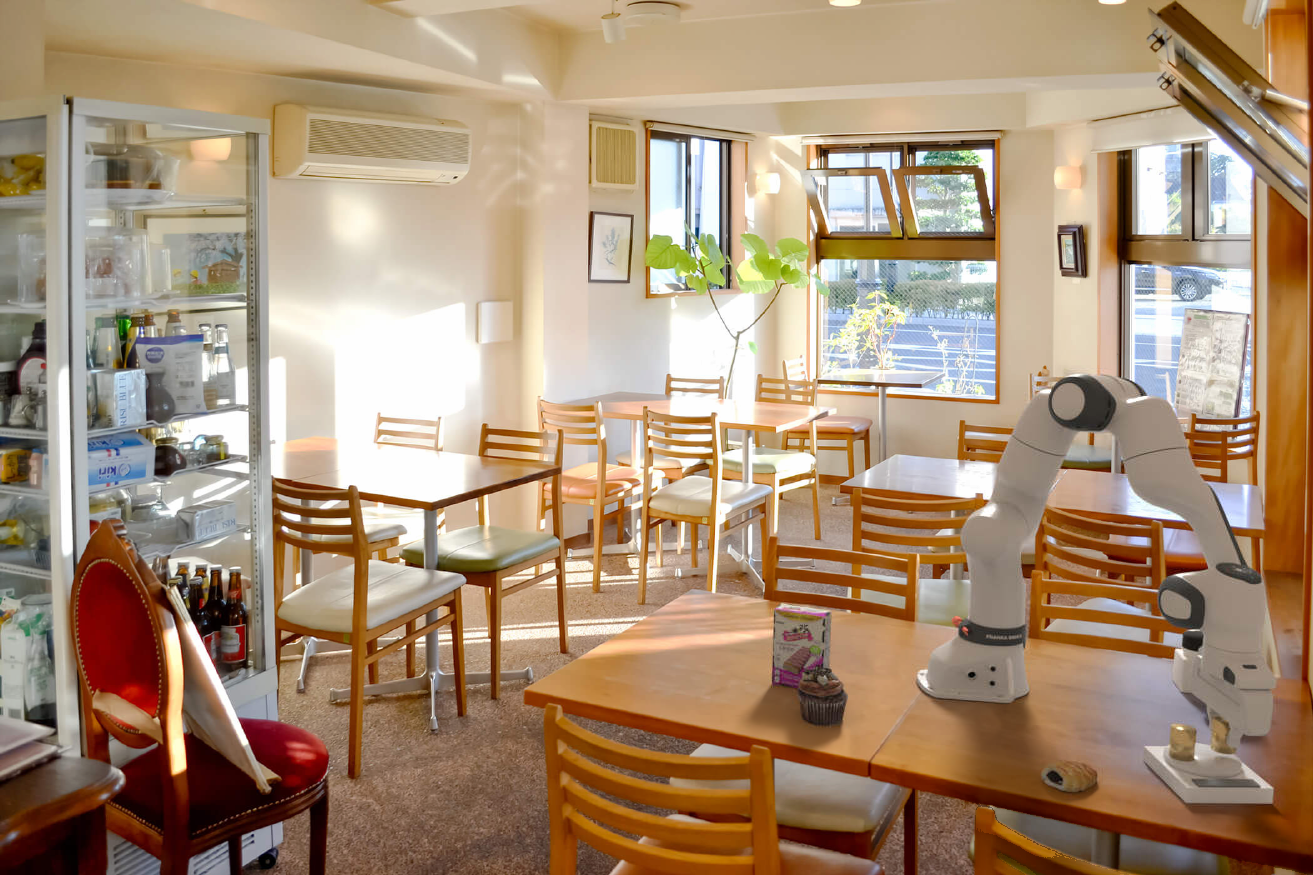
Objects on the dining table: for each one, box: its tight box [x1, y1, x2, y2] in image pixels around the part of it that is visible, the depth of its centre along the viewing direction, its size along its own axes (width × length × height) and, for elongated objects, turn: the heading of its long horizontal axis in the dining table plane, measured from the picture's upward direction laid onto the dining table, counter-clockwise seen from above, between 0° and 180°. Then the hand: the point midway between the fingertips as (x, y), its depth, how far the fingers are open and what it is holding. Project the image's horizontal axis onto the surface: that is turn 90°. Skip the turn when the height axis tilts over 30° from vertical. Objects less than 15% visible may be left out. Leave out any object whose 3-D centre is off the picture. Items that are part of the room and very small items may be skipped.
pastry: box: [1040, 760, 1098, 793], centre depth 186 cm, size 9×7×4 cm
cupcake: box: [796, 665, 849, 727], centre depth 212 cm, size 10×10×10 cm
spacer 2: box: [1209, 716, 1238, 755], centre depth 187 cm, size 4×4×5 cm
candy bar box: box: [771, 603, 832, 689], centre depth 228 cm, size 11×5×16 cm, turn 65°
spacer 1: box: [1168, 723, 1197, 762], centre depth 187 cm, size 4×4×5 cm
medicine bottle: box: [1172, 629, 1204, 694], centre depth 228 cm, size 7×7×12 cm
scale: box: [1142, 742, 1274, 805], centre depth 186 cm, size 14×16×4 cm
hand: (1224, 739), depth 187 cm, fingers closed on spacer 2, 4 cm apart
